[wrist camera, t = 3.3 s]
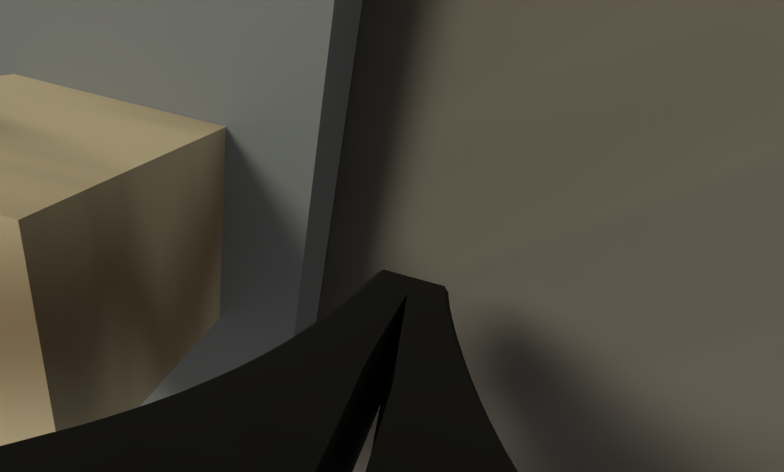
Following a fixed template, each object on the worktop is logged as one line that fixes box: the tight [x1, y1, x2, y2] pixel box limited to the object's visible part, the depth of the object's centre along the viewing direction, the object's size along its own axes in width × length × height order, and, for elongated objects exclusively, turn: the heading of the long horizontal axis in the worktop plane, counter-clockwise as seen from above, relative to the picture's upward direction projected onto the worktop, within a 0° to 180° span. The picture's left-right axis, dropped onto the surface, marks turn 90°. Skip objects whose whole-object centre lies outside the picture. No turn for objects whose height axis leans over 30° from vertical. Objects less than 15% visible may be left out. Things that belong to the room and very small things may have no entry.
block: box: [0, 74, 226, 446], centre depth 10 cm, size 5×5×5 cm
